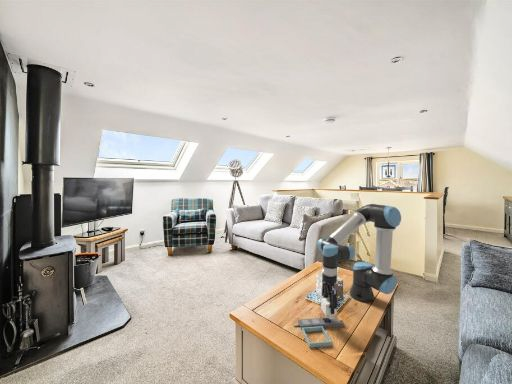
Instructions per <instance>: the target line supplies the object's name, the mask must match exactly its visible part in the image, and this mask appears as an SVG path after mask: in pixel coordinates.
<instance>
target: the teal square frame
mask: <svg viewBox="0 0 512 384" xmlns="http://www.w3.org/2000/svg"><path fill="white" fill-rule="evenodd" d="M307 332H308V333H309V332H322V334H323V335H324V338H325V340H327V341H314V342H313V341H312V342H310V340H309V337H308V335H307V334H306V333H307ZM301 333H302V334H303V335H302V336H304V339H305V341H306V343H307V345H308V347H309V348H310V349H311V348H320V347H321V348H322V347H331V346H333V345H332V343H333V342H332V340H331V338H330V337H329V335H328V333H327V332H326V330H325V328H323V327H322V326H319V327H305V328H302V330H301Z"/></svg>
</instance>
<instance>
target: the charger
mask: <svg viewBox="0 0 512 384" xmlns="http://www.w3.org/2000/svg"><path fill="white" fill-rule="evenodd" d="M329 307H330V302H329V298H323V297H321V298H320V309H321V311H322V312H323V314H324V316H325V318H329ZM337 313H338V308H337V309H334V316H336V315H338V314H337Z"/></svg>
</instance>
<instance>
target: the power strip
mask: <svg viewBox="0 0 512 384" xmlns="http://www.w3.org/2000/svg"><path fill="white" fill-rule="evenodd" d="M319 326H322V327H323V328H324V329H328V328H342V327H345V323H344V320H343V319H342V318H341V317H340V316H334V319H329V317H317V318H304V319H303V318H301V319H300V318H299V319H297V325H295V324H294V325H293V327H294V328H300V330H301V331H302V328H305V327H319Z"/></svg>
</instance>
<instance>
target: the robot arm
mask: <svg viewBox="0 0 512 384" xmlns="http://www.w3.org/2000/svg"><path fill="white" fill-rule="evenodd" d="M401 221H402V214H401V211H400V210H399V209H398V207H395V206H390V205H386V204H375V203H371V204H366V205H363V206H361V207H360V208H358V209H356V210H355V211H354V212H353V213H352V215H351V217H350V218H349V219H347V220H346V221H345V222H344V223H342V225H340V226H339V227H338V228H337V229H336V230H335V231H333V232H332V233H331V234H330V235H329V236H327V237H326V238H320V239H319V240H318V241H317V243H316V247H317V249H318V250H319V251H321V252H322V268H321V270H322V274H321V275H322V276H321V282H322V284H321V296H322V298H329V302H330V307H329V317H328V318H329V319H334V317H335V315H334V309H337V310H338V289H335V287H336V286H335V284H336V283H337V282H338V275H337V274H338V263H340V262H344V261H349V260H352V259H354V258H355V254H356V252H355V249H354V247H352V246H351V245H349V244H348V245H341V244H342V243H343V242H344V241H345V240H346V239H347V238H348V237H350V235H352V234H353V233H354V232H355V231H357V230H358V228H360V227H361V225H362V226H363V225H365V224H366V223H369V222H371V223H373V224H374V225H373V226H374V228H375V229H376V233H375V234H376V235H375V236H376V239H375V252H374V253H375V256H374V266H373V264H372V263H369V262H365V261H360V262H359V261H358V262H355V263H354V264H353V268H352V270H353V271H352V283H351V287H350V289H349V296H350V297H351V298H353V299H354V300H355V301H359V302H363V303H371V302H373V301H374V300H375V294H374V291H373V289H375V290H376V291H379V293H383V294H385V295H390V294H392V293H393V292H394V291H395V290H396V288H397V286H398V279H397V278H396V276H394V271H393V270H392V269H391V265H392V251H393V250H392V249H393V248H392V247H393V232H394V231H395V230H396V229H397V227H399V226H400V224H401ZM372 300H373V301H372ZM370 301H371V302H370Z"/></svg>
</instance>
